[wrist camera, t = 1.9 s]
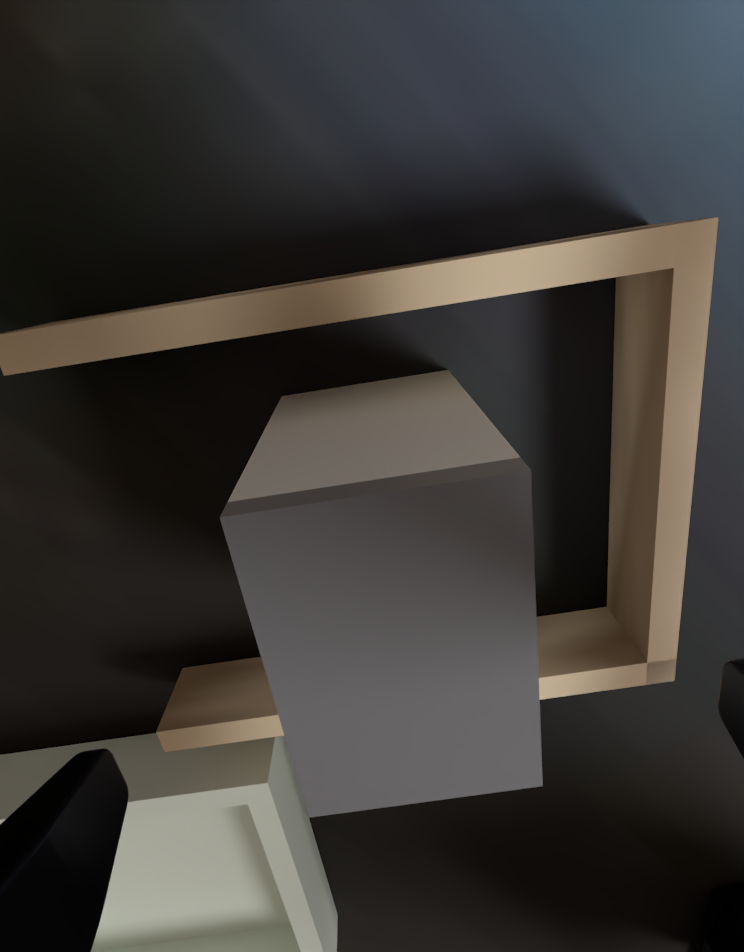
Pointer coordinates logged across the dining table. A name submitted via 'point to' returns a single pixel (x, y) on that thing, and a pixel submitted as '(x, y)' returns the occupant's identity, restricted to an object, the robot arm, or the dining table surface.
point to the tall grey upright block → (392, 593)
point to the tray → (202, 848)
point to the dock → (632, 440)
